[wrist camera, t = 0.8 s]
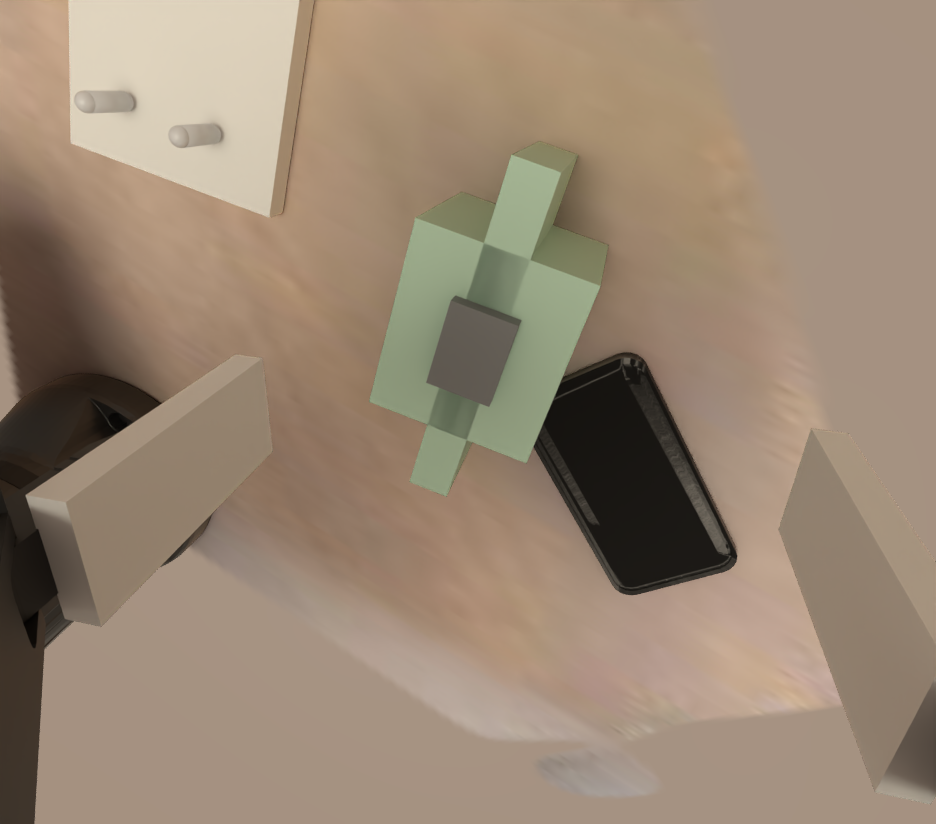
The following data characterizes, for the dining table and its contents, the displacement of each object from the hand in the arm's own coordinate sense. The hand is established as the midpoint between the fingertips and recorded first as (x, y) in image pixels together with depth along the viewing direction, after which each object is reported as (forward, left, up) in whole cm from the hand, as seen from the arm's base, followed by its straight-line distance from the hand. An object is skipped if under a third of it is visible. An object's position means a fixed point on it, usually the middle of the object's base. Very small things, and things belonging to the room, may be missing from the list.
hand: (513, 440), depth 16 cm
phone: (+1, -14, -21) cm, 25 cm away
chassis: (-16, +16, -20) cm, 31 cm away
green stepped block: (-4, -2, -20) cm, 21 cm away
